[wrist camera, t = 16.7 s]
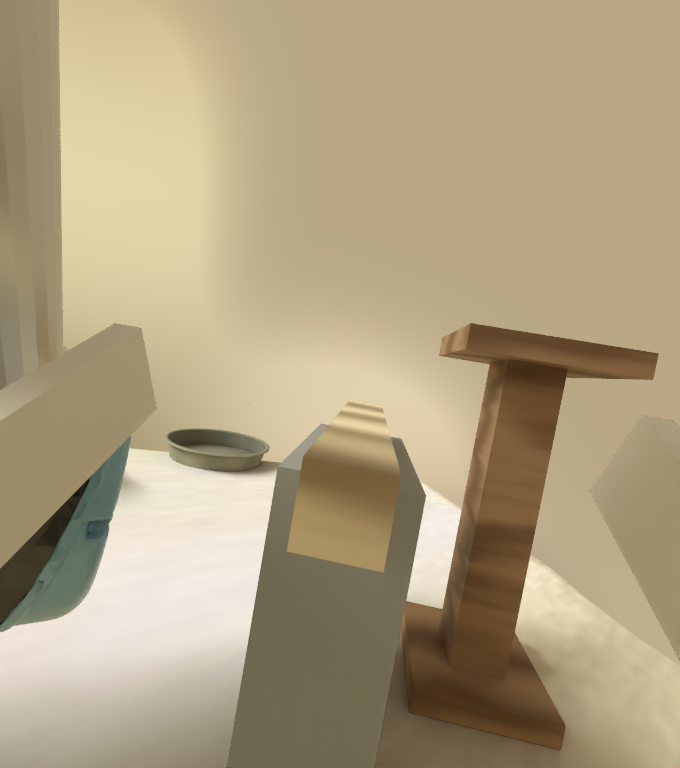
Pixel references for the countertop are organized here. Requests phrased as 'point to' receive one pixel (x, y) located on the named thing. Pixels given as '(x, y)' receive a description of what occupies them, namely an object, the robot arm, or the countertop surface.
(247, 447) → the cake pan
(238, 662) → the countertop surface
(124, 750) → the countertop surface
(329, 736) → the slate block
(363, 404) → the birch bar
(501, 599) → the walnut stand
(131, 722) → the countertop surface
